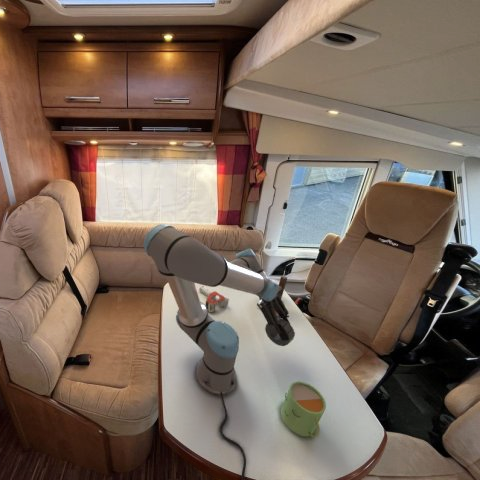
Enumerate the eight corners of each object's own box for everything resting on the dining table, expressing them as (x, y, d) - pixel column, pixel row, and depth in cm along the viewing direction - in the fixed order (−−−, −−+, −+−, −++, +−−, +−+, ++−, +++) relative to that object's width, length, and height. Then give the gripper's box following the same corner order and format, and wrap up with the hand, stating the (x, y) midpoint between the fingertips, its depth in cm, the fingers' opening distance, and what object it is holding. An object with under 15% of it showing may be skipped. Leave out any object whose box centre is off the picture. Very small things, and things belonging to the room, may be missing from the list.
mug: (274, 404, 83) (282, 382, 78) (302, 402, 84) (311, 380, 79) (295, 447, 72) (306, 424, 67) (327, 444, 73) (340, 422, 68)
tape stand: (269, 301, 135) (277, 272, 127) (286, 311, 128) (295, 280, 120) (251, 313, 126) (258, 282, 117) (268, 324, 118) (277, 292, 110)
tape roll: (263, 335, 102) (268, 317, 98) (268, 330, 104) (273, 313, 100) (285, 351, 95) (292, 332, 90) (290, 345, 97) (297, 327, 93)
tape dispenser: (199, 290, 145) (194, 309, 127) (200, 283, 144) (195, 301, 126) (229, 295, 141) (228, 315, 123) (229, 287, 139) (229, 307, 121)
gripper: (264, 279, 107) (290, 328, 102) (241, 292, 98) (269, 347, 93) (278, 274, 101) (307, 326, 96) (255, 288, 92) (286, 347, 87)
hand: (288, 337), depth 94 cm, fingers closed on tape roll, 4 cm apart
